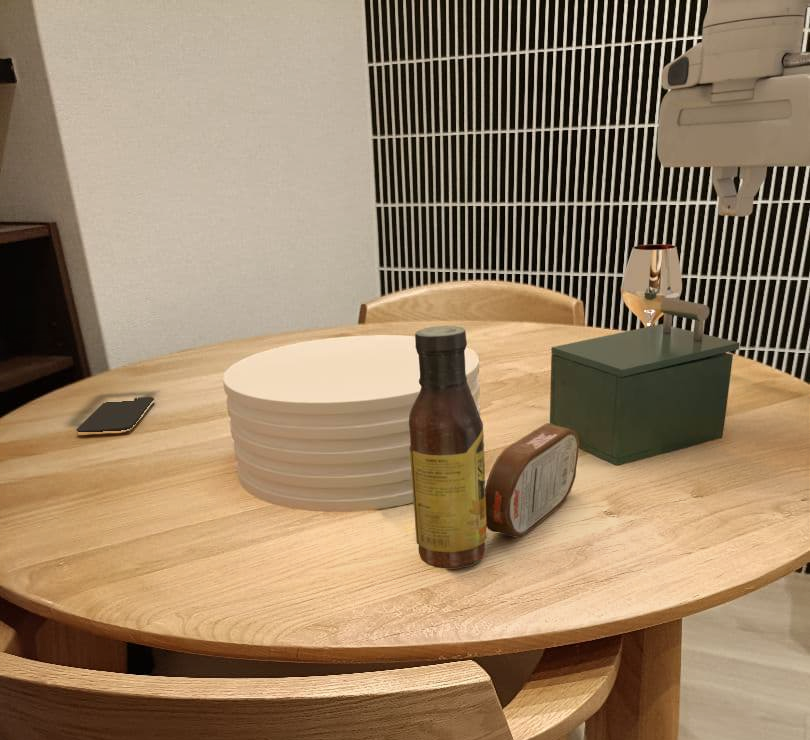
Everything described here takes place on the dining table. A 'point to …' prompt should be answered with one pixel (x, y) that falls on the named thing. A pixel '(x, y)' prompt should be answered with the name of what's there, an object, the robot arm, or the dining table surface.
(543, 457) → the tin
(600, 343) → the bin lid
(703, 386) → the bin
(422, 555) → the sauce bottle
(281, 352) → the plate stack
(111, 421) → the phone
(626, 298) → the wineglass
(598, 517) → the dining table surface
